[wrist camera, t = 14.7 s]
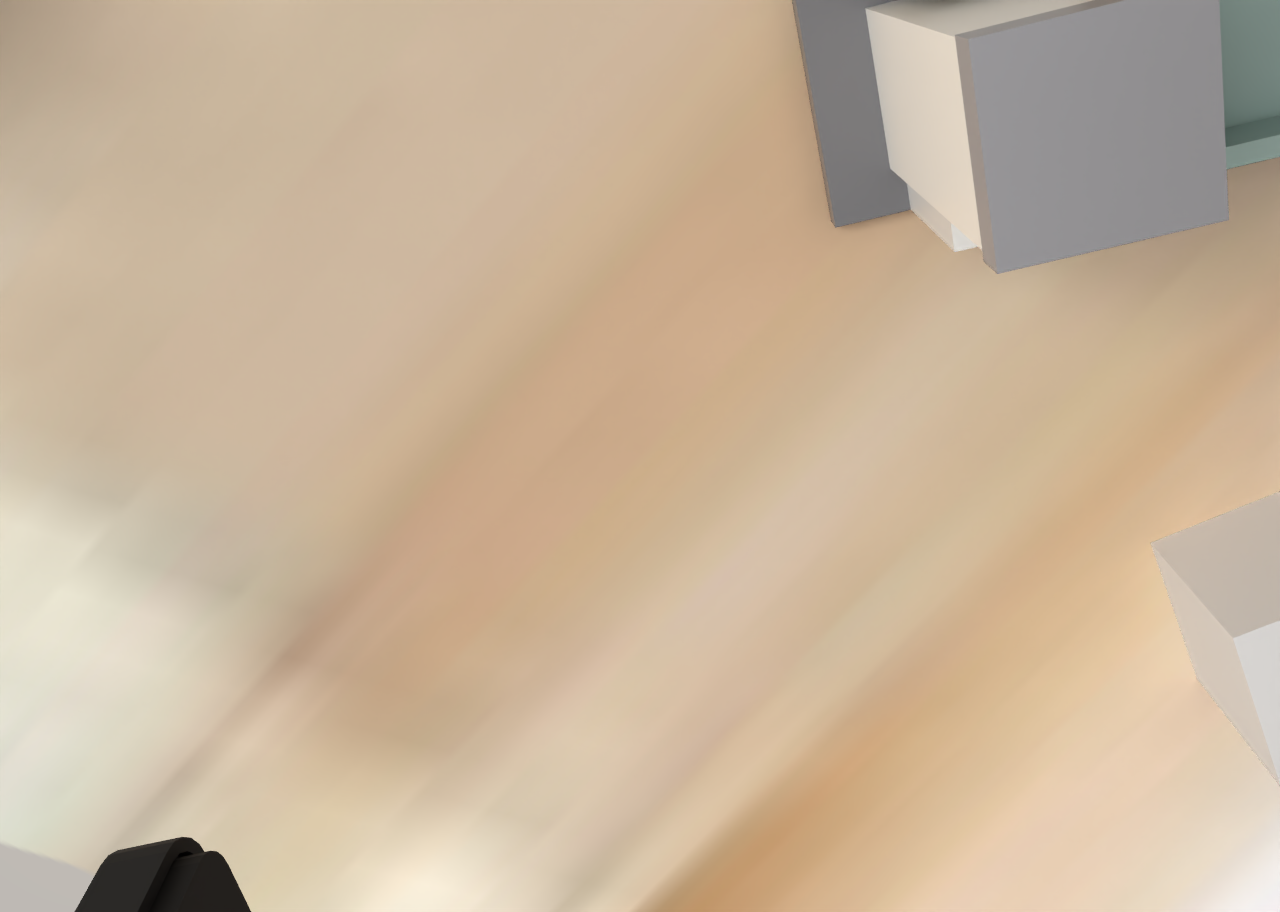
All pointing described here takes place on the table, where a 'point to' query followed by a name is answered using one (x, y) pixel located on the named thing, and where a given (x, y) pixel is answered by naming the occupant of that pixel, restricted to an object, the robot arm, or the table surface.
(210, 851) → the robot arm
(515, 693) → the table surface
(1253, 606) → the light grey cube
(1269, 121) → the tray
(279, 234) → the table surface
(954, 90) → the block
